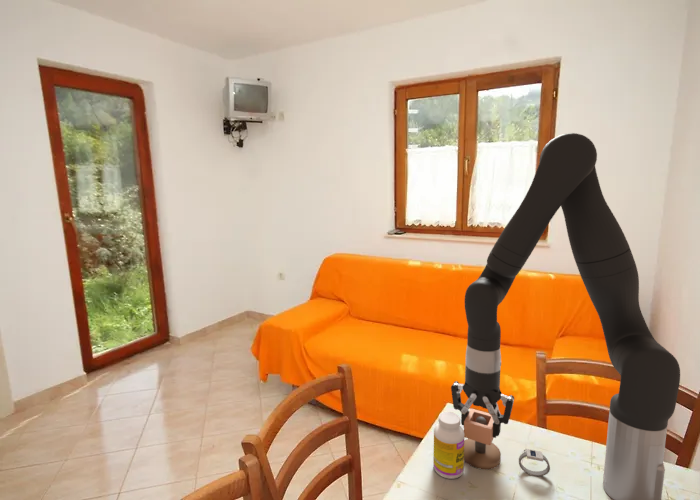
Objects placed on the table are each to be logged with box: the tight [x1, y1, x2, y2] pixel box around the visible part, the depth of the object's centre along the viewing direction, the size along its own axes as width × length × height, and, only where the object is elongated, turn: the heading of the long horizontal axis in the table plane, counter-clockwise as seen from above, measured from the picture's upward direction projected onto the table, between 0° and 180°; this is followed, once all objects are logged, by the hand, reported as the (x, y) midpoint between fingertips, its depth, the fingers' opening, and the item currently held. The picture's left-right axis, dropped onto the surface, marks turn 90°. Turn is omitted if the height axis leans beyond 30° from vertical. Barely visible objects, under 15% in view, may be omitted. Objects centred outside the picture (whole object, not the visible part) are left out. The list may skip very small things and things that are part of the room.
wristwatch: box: [518, 448, 551, 477], centre depth 85 cm, size 6×3×5 cm, turn 70°
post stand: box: [464, 416, 502, 471], centre depth 91 cm, size 9×9×10 cm
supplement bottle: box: [432, 411, 465, 480], centre depth 87 cm, size 7×7×13 cm
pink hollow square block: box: [463, 408, 494, 446], centre depth 90 cm, size 6×6×4 cm
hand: (480, 431), depth 90 cm, fingers closed on pink hollow square block, 6 cm apart
